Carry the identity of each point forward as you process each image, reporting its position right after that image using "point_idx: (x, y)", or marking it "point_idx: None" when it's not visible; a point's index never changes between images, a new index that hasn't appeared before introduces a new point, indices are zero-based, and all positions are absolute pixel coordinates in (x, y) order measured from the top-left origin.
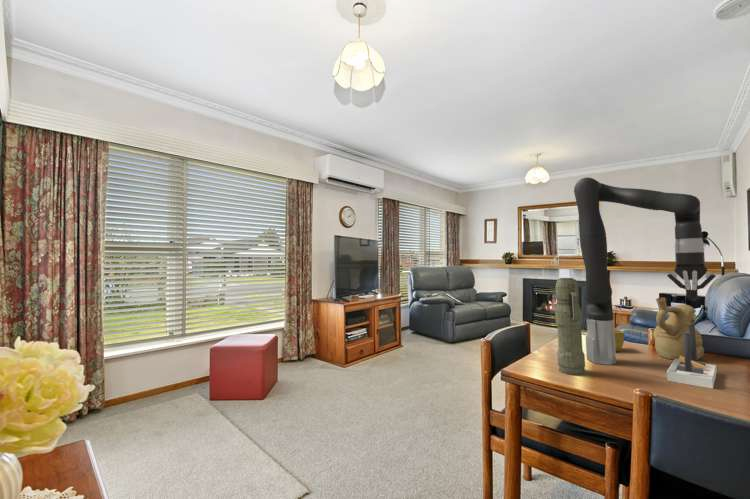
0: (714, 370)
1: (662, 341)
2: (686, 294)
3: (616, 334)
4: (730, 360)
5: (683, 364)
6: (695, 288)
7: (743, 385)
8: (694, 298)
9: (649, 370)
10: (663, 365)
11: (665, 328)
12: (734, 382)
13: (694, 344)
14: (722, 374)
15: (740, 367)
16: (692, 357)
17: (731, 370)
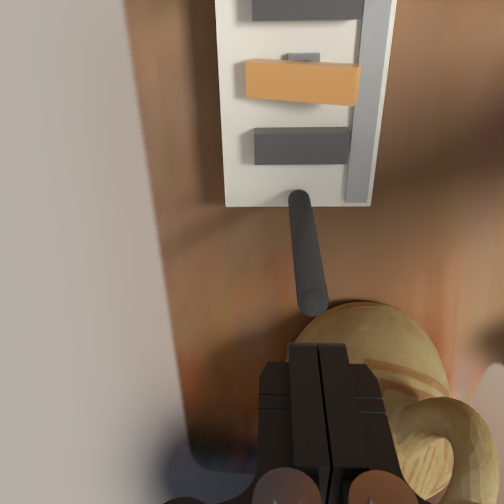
0: (220, 102)
1: (423, 356)
2: (382, 416)
3: None
4: (212, 393)
5: (336, 127)
6: (271, 500)
7: (133, 72)
8: (288, 362)
9: (467, 56)
10: (405, 193)
11: (429, 399)
12: (163, 97)
13: (297, 230)
14: (211, 195)
15: (178, 327)
16: (305, 197)
17: (194, 272)
